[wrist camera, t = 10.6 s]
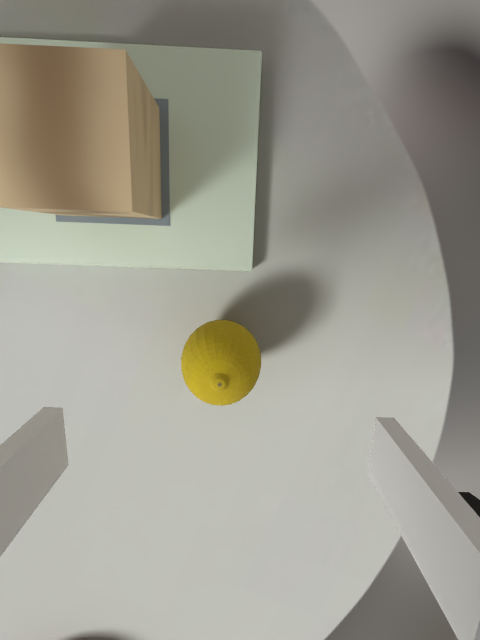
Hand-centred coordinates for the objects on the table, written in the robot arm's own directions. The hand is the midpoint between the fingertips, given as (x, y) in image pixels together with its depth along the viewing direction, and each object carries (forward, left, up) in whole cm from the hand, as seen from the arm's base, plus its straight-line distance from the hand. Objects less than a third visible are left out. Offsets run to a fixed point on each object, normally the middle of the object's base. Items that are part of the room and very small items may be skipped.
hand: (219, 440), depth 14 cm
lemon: (0, 0, -14) cm, 14 cm away
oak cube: (-8, +13, -12) cm, 20 cm away
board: (-8, +13, -14) cm, 20 cm away
